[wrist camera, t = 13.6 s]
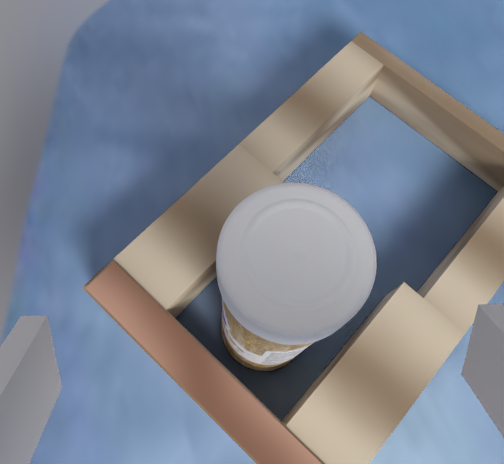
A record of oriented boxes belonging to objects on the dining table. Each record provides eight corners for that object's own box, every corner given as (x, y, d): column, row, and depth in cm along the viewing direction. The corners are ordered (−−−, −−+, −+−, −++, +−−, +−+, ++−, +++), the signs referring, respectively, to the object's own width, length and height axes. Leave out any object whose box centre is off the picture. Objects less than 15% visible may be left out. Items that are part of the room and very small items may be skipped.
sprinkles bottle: (210, 301, 26) (195, 199, 13) (289, 277, 27) (345, 159, 14) (235, 385, 25) (244, 359, 12) (318, 358, 25) (408, 306, 13)
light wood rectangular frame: (349, 64, 32) (362, 29, 29) (541, 206, 29) (577, 183, 26) (97, 300, 26) (80, 286, 23) (309, 513, 23) (322, 529, 20)
